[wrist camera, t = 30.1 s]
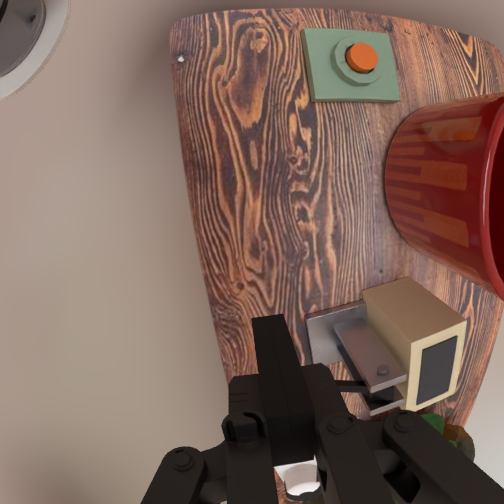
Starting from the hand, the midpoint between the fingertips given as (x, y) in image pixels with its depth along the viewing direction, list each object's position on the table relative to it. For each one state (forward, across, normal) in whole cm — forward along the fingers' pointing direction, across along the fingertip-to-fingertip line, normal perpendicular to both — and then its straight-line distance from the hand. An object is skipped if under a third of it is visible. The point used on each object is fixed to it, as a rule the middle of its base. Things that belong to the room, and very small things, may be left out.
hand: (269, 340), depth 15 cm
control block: (+26, +16, +20) cm, 37 cm away
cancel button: (+23, +16, +20) cm, 35 cm away
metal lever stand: (+26, +13, -17) cm, 34 cm away
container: (+27, +4, -42) cm, 49 cm away
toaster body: (+26, +20, -16) cm, 37 cm away
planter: (+27, +30, +4) cm, 40 cm away
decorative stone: (+27, +40, -52) cm, 70 cm away
